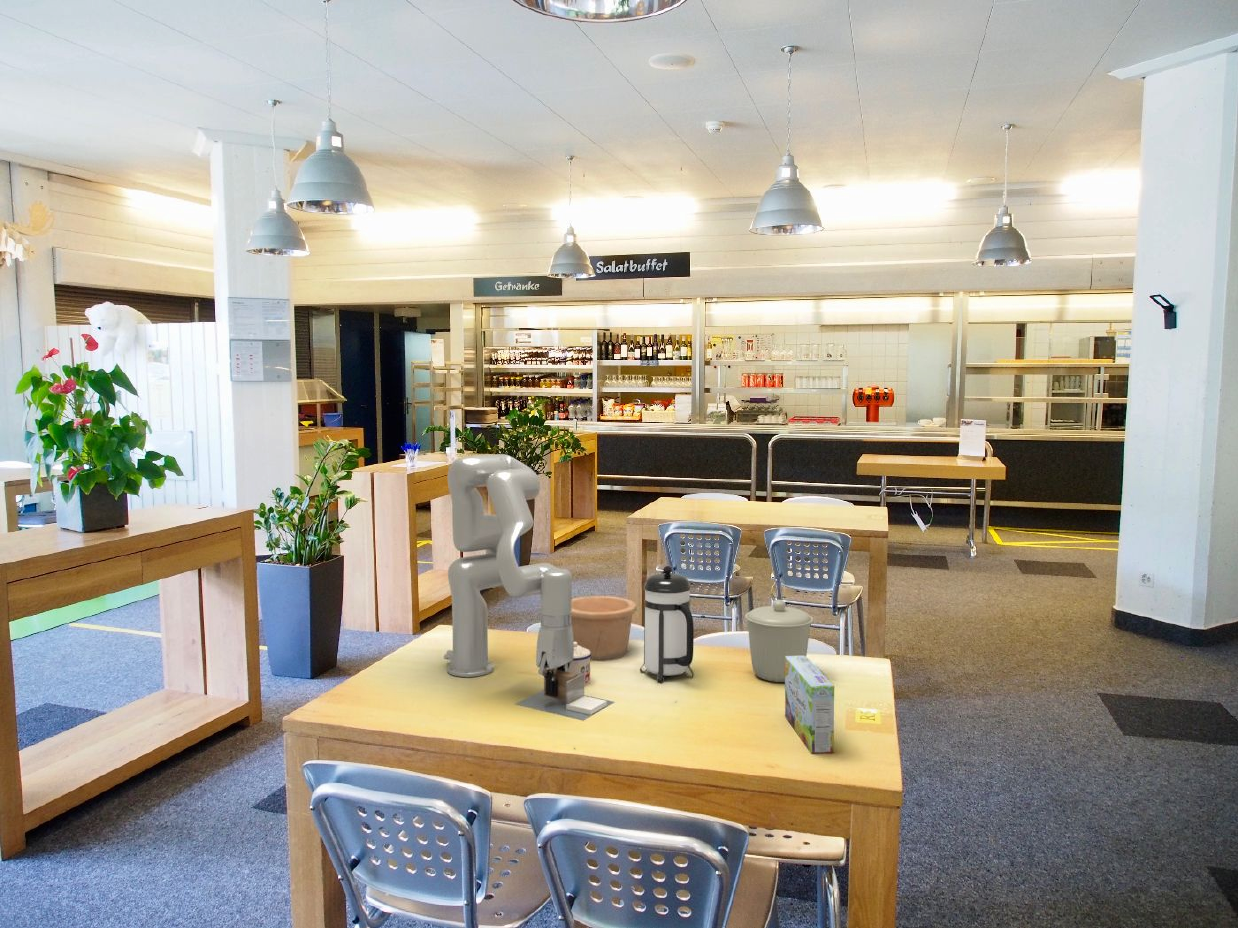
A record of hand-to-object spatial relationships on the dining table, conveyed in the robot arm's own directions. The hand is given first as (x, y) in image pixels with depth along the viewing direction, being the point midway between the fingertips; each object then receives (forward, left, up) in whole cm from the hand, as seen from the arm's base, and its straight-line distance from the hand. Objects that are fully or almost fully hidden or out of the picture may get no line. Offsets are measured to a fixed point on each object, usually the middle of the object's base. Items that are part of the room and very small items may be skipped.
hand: (556, 692), depth 211 cm
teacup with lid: (-4, +15, -3) cm, 16 cm away
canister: (+39, +49, -3) cm, 62 cm away
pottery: (-14, +42, -3) cm, 45 cm away
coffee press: (+14, +34, -3) cm, 37 cm away
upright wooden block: (+1, 0, -1) cm, 2 cm away
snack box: (+59, +15, -3) cm, 61 cm away
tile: (+5, 0, -1) cm, 6 cm away
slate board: (+3, 0, -3) cm, 4 cm away
